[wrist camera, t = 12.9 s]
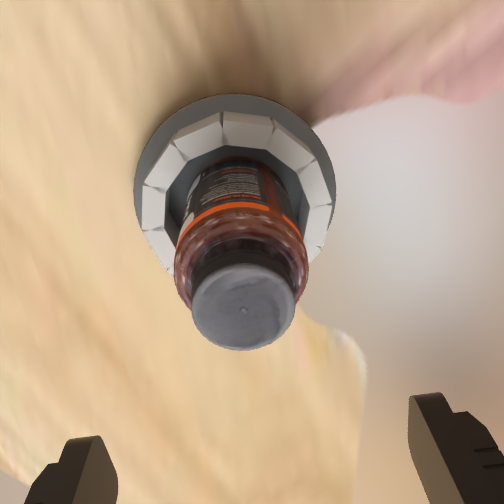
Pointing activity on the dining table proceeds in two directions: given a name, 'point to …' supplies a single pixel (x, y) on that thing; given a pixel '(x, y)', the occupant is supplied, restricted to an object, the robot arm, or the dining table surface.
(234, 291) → the supplement bottle
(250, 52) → the dining table surface
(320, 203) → the bottle socket
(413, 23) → the dining table surface
